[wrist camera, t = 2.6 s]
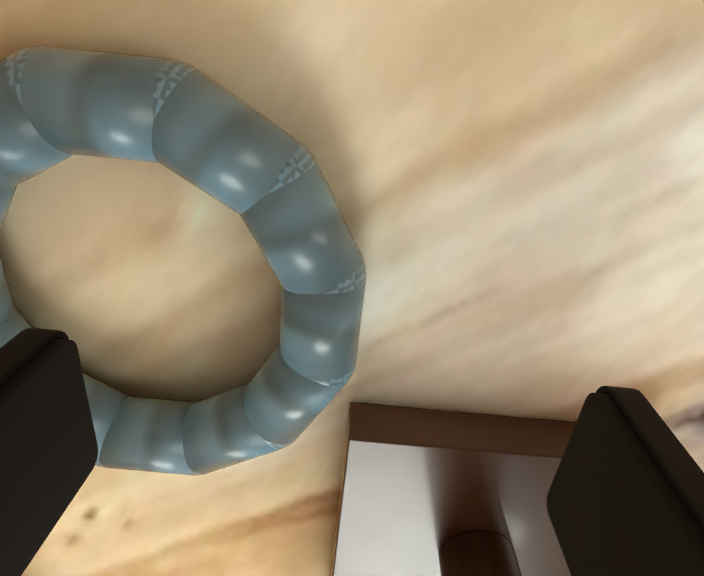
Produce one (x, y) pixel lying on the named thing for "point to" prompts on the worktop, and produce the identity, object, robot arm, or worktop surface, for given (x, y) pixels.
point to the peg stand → (447, 494)
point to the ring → (230, 189)
